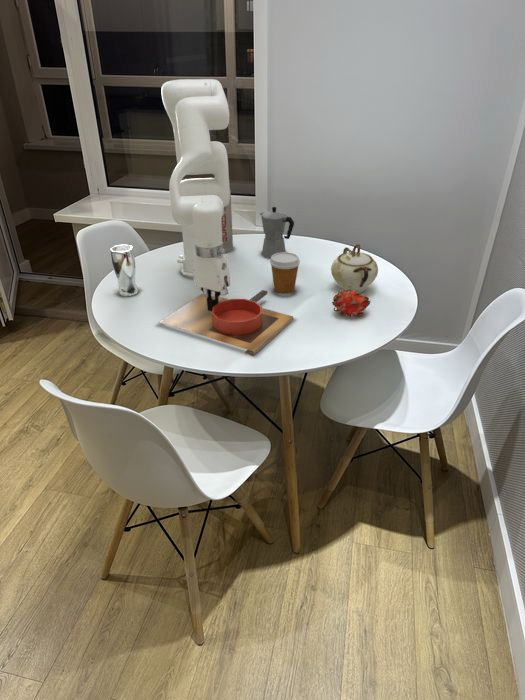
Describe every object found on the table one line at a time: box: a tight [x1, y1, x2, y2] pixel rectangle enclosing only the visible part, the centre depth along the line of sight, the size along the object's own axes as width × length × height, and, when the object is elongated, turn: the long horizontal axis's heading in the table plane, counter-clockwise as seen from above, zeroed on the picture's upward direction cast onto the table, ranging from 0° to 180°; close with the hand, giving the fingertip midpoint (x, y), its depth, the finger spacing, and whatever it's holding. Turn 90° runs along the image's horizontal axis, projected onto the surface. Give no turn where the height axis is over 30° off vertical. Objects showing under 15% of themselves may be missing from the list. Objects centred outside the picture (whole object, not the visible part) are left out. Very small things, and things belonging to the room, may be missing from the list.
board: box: [158, 292, 294, 356], centre depth 143 cm, size 32×22×1 cm
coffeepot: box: [259, 206, 295, 259], centre depth 183 cm, size 15×9×18 cm, turn 51°
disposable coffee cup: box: [269, 251, 301, 294], centre depth 157 cm, size 10×10×12 cm
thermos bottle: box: [211, 174, 234, 253], centre depth 186 cm, size 8×8×28 cm
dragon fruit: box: [331, 289, 372, 318], centre depth 146 cm, size 8×8×12 cm
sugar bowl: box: [330, 244, 379, 294], centre depth 159 cm, size 20×15×15 cm
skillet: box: [212, 289, 268, 335], centre depth 144 cm, size 14×23×4 cm, turn 150°
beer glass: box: [110, 244, 139, 297], centre depth 157 cm, size 7×7×15 cm
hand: (213, 309), depth 145 cm, fingers closed
